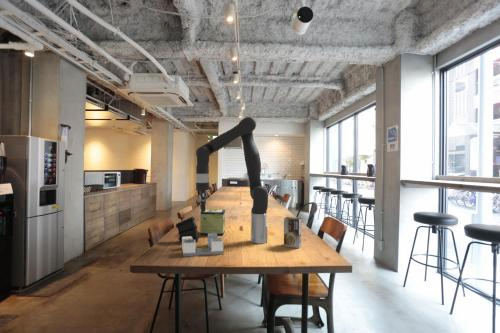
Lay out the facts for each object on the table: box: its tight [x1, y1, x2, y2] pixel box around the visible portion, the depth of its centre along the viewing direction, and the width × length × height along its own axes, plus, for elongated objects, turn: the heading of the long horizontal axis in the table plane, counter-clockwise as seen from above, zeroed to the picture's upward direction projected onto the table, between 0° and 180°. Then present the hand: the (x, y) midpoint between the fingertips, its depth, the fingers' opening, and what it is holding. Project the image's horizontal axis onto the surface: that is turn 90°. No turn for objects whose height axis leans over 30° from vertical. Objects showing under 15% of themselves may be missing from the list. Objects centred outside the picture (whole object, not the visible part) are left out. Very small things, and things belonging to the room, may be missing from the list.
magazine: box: [175, 216, 200, 244], centre depth 155 cm, size 4×13×15 cm, turn 81°
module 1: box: [181, 236, 193, 250], centre depth 143 cm, size 5×4×6 cm
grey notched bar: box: [182, 237, 224, 258], centre depth 135 cm, size 20×7×7 cm, turn 104°
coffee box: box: [283, 216, 302, 249], centre depth 150 cm, size 9×6×16 cm
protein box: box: [199, 208, 226, 237], centre depth 176 cm, size 10×16×16 cm
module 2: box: [207, 233, 218, 248], centre depth 148 cm, size 5×4×7 cm
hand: (202, 210), depth 148 cm, fingers open, 8 cm apart
